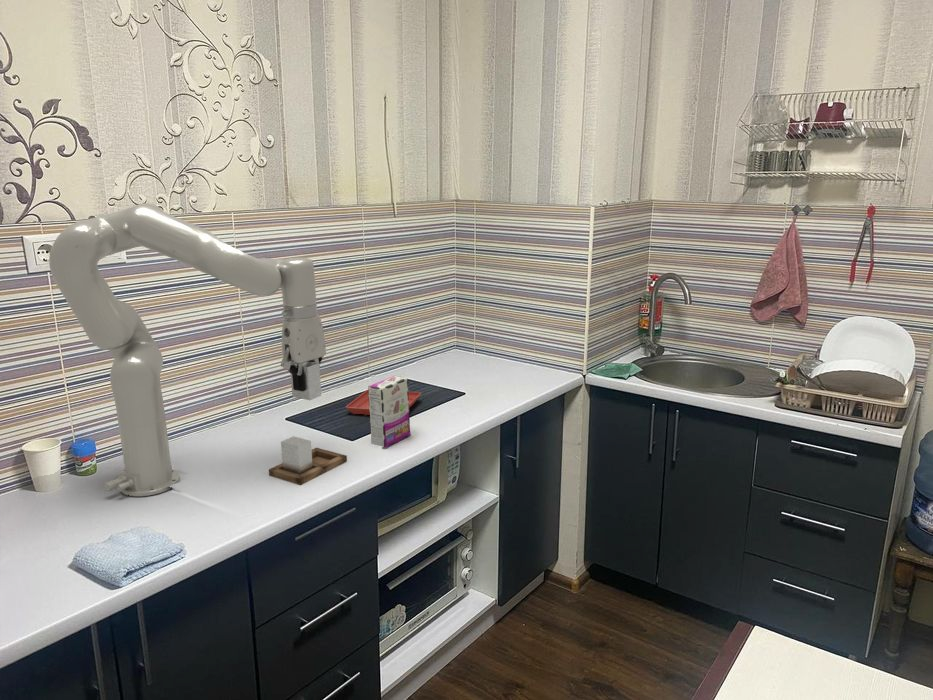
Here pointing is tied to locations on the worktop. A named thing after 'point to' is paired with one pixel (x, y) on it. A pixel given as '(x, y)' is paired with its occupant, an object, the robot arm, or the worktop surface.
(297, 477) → the wooden divided tray
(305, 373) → the billet
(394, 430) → the candy bar box
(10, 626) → the worktop surface
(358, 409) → the plant saucer
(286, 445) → the block
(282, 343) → the robot arm
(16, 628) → the worktop surface
